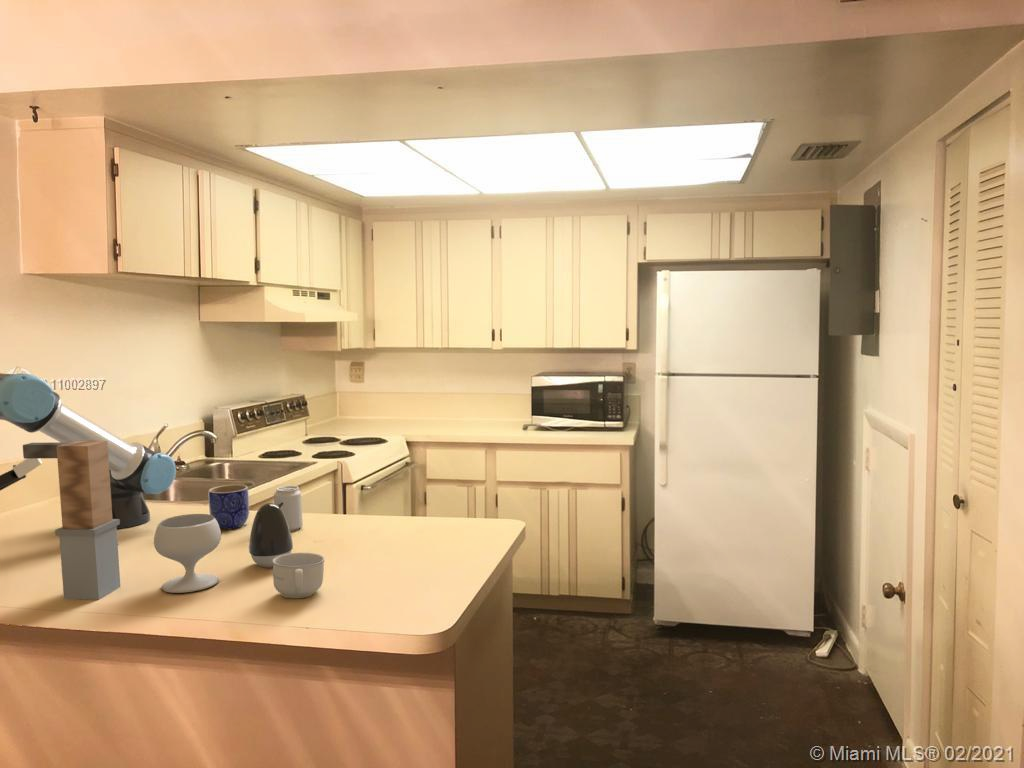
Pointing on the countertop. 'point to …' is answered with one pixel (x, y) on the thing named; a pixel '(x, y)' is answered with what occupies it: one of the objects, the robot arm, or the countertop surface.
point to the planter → (229, 505)
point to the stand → (89, 561)
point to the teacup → (298, 574)
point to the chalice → (188, 548)
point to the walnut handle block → (79, 480)
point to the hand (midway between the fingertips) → (17, 464)
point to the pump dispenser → (269, 535)
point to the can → (290, 505)
